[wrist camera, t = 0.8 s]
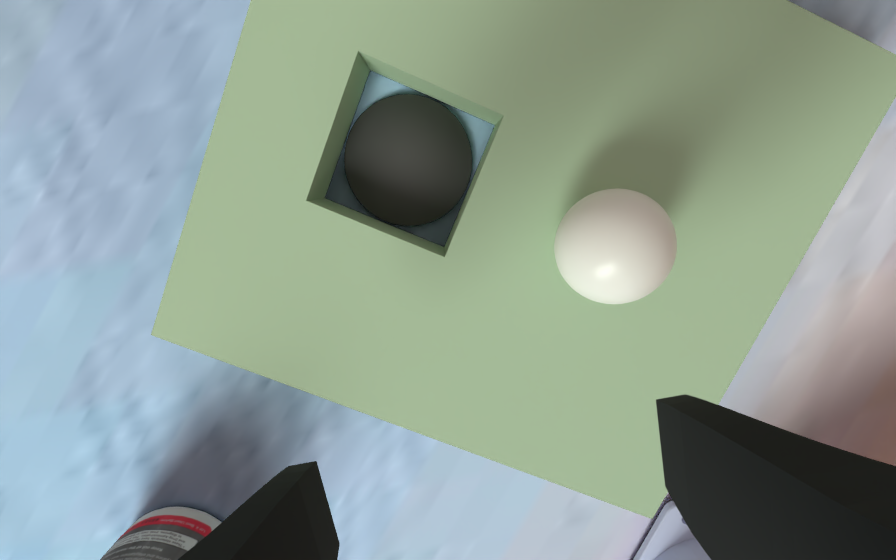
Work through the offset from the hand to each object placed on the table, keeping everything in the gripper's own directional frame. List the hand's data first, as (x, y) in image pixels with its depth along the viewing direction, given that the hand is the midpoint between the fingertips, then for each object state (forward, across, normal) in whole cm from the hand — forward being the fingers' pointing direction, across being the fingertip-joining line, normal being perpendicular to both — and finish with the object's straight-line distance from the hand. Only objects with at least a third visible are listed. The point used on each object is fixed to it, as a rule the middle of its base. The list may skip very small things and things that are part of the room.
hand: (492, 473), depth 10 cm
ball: (+5, -5, -3) cm, 8 cm away
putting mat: (+10, -2, -5) cm, 11 cm away
